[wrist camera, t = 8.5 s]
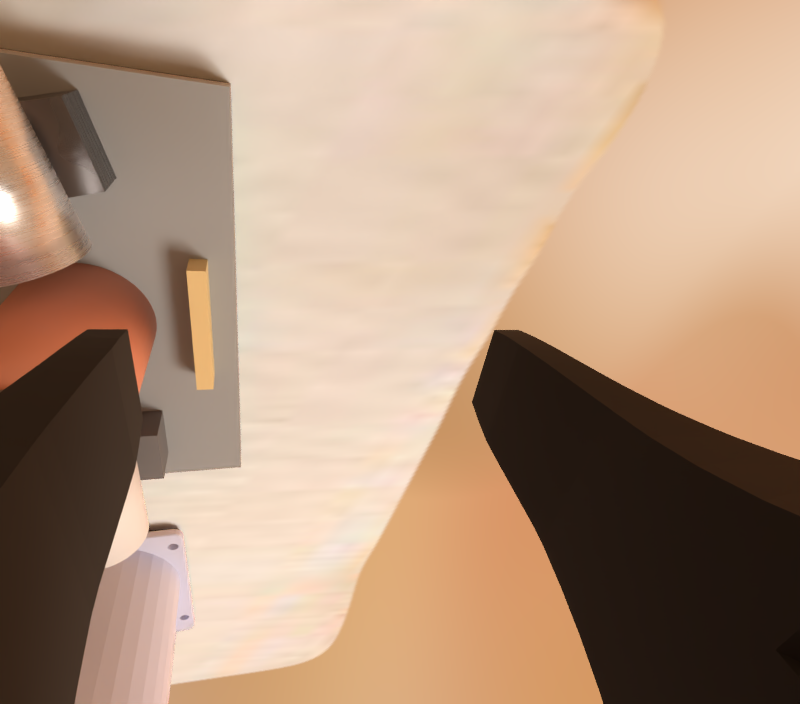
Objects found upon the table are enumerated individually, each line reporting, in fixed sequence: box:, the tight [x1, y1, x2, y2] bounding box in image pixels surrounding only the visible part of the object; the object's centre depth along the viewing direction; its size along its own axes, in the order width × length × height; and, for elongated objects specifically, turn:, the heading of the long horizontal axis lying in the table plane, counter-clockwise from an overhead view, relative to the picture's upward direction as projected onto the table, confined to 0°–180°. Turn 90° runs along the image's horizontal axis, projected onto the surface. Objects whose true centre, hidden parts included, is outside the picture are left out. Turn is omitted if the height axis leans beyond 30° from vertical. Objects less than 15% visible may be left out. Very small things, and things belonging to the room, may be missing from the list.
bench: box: [0, 48, 241, 568], centre depth 15 cm, size 16×12×6 cm
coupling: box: [0, 263, 157, 392], centre depth 14 cm, size 4×4×6 cm
